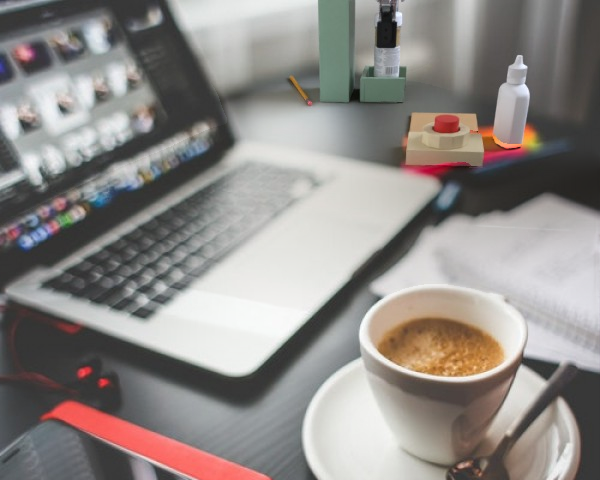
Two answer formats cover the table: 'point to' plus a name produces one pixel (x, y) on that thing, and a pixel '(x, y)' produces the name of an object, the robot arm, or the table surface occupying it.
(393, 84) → the dock machine
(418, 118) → the cork mat
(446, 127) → the button
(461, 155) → the button box
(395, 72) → the sprinkles bottle
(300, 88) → the pencil
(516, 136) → the eye dropper bottle
